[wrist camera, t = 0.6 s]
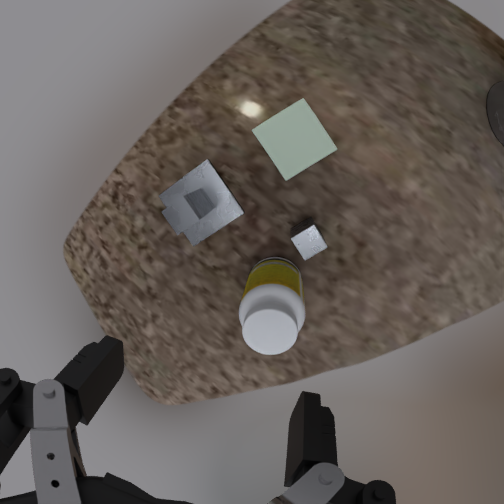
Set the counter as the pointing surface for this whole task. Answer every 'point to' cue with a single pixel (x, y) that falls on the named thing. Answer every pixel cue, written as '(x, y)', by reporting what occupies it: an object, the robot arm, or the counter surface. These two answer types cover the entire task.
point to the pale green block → (294, 139)
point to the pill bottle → (272, 306)
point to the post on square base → (200, 203)
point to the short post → (308, 238)
